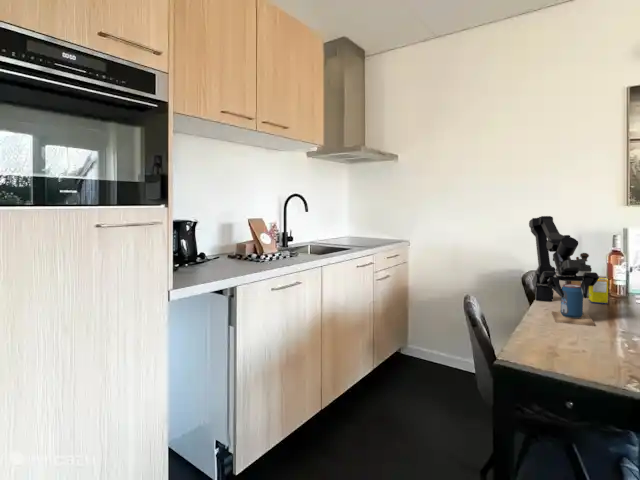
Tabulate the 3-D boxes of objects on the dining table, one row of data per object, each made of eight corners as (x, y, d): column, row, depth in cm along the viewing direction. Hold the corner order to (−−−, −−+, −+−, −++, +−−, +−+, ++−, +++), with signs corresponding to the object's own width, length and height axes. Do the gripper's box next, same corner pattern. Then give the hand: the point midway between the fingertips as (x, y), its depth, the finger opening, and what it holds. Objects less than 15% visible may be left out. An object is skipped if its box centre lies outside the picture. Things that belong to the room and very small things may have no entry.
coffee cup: (595, 298, 174) (596, 266, 173) (576, 298, 174) (578, 266, 173) (582, 294, 182) (584, 263, 181) (565, 294, 182) (566, 263, 181)
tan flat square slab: (555, 321, 140) (555, 319, 139) (551, 313, 150) (551, 311, 150) (594, 325, 134) (594, 323, 134) (587, 317, 145) (588, 314, 145)
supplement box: (604, 301, 168) (605, 277, 167) (607, 304, 162) (608, 280, 161) (588, 300, 170) (589, 276, 169) (591, 303, 165) (592, 279, 164)
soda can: (585, 316, 142) (585, 285, 141) (579, 320, 137) (580, 287, 137) (564, 313, 147) (564, 283, 146) (558, 316, 143) (558, 285, 142)
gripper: (543, 251, 146) (552, 284, 136) (597, 251, 142) (611, 286, 132) (535, 267, 154) (544, 300, 145) (587, 268, 150) (599, 302, 140)
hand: (574, 297), depth 140 cm, fingers open, 7 cm apart
